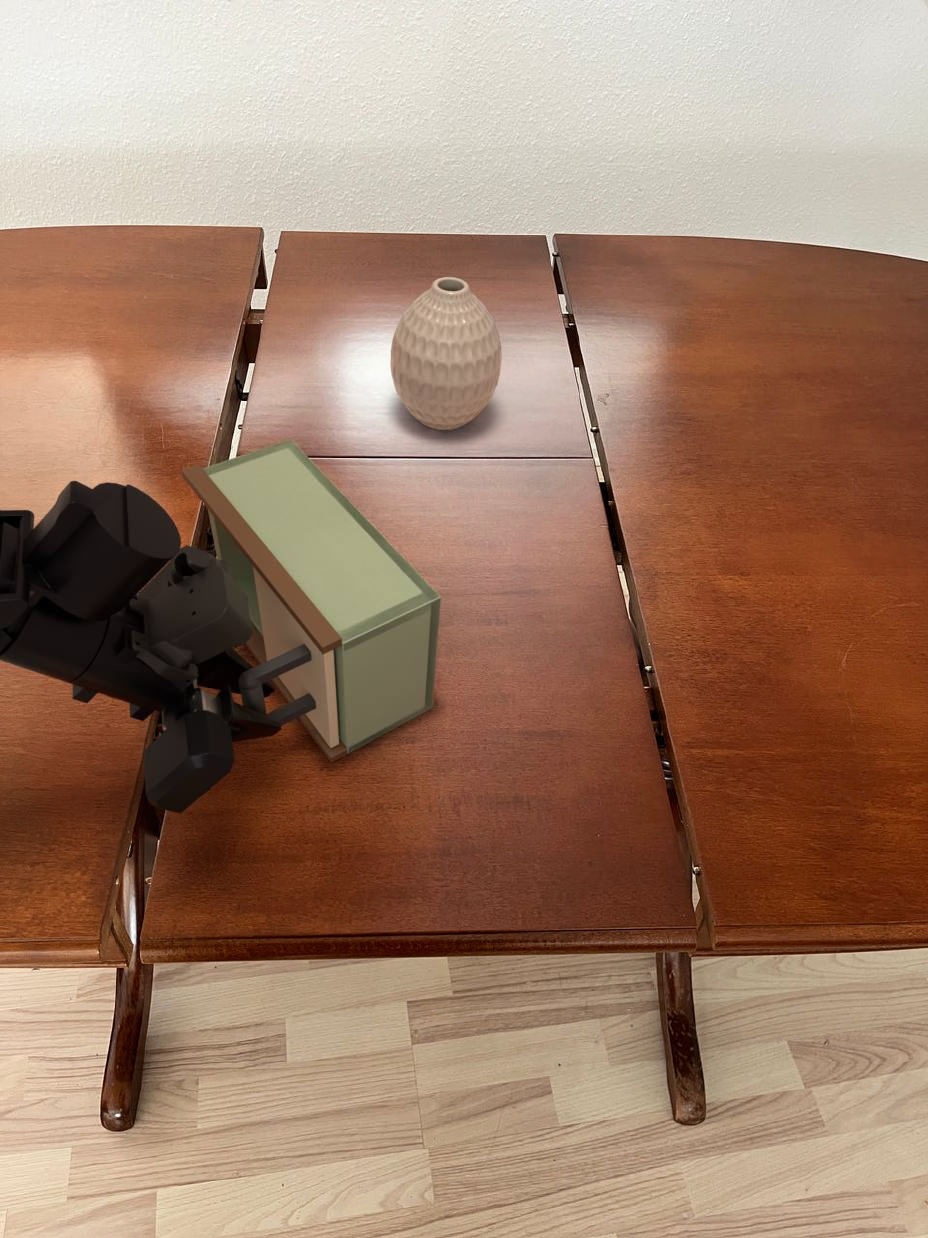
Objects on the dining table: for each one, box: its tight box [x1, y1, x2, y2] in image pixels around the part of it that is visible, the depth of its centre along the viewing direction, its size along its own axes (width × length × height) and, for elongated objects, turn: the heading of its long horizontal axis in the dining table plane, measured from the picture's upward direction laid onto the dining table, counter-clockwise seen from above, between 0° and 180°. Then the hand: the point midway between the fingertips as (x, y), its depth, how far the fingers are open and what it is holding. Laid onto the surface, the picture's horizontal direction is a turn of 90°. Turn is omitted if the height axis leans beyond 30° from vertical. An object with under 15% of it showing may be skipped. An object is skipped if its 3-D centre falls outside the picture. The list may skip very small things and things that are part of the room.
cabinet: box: [180, 438, 442, 764], centre depth 73 cm, size 10×23×15 cm, turn 36°
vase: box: [390, 276, 503, 431], centre depth 99 cm, size 13×13×17 cm
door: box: [239, 567, 339, 748], centre depth 67 cm, size 6×11×12 cm, turn 36°
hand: (274, 711), depth 65 cm, fingers open, 3 cm apart
